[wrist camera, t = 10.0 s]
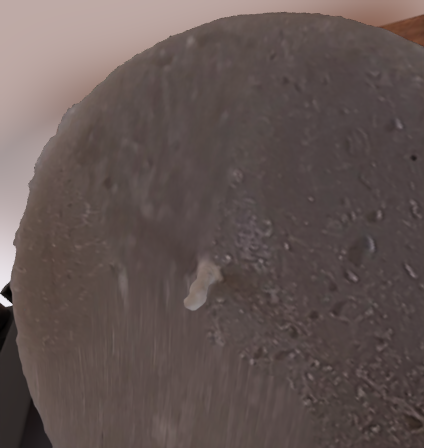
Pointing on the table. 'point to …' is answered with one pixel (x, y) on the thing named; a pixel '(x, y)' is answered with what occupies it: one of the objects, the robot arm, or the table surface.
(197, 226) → the pillar candle
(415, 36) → the table surface
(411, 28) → the table surface
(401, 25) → the table surface
